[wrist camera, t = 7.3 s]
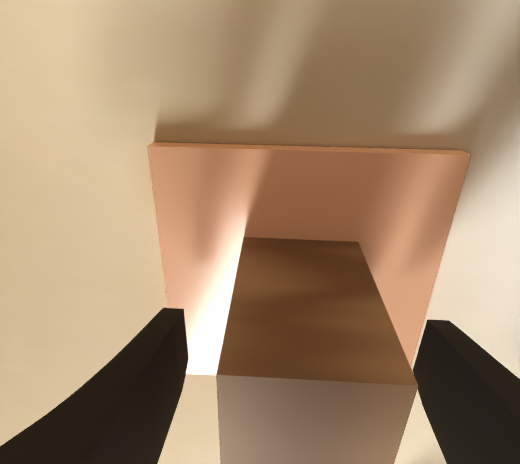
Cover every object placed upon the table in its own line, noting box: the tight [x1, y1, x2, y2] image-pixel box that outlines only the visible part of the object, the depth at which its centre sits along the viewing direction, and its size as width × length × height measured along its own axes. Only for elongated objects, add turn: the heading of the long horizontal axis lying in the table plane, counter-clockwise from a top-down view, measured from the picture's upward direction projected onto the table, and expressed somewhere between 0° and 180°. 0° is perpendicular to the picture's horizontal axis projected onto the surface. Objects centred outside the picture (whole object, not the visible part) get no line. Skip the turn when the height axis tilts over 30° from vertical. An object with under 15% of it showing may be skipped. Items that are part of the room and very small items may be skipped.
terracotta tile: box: [147, 142, 471, 375], centre depth 14 cm, size 10×10×1 cm
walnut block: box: [216, 237, 418, 464], centre depth 11 cm, size 4×4×6 cm
